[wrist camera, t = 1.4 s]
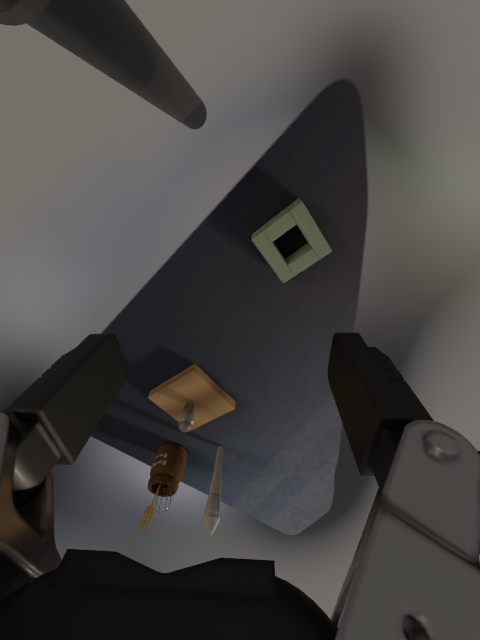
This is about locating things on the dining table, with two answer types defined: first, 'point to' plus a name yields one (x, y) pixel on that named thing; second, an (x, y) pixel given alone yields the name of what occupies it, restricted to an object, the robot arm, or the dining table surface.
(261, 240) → the green square ring block
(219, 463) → the pen
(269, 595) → the robot arm
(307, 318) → the dining table surface
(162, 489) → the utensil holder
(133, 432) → the dining table surface
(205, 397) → the base pad
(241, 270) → the dining table surface
